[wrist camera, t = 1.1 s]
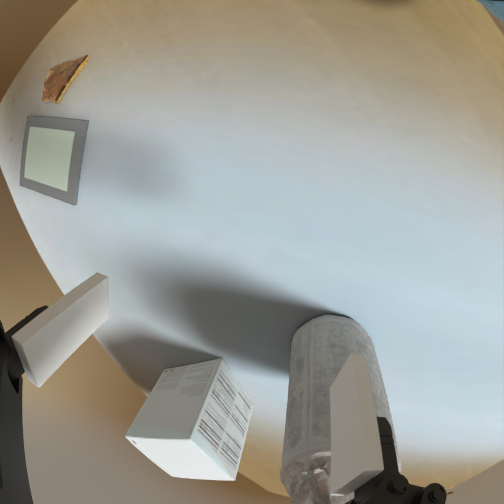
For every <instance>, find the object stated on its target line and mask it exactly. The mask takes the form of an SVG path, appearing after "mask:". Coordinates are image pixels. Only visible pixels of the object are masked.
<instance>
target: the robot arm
mask: <svg viewBox="0 0 504 504" xmlns="http://www.w3.org/2000/svg"><path fill="white" fill-rule="evenodd" d="M477 1H479V2H480V3H481V4H482V5H483V6H484V7H485V8H486V9H487V10H488V11H490V12H491V13H492V14H493V15H494V16H495V17H497V18H498V19H500V20H503V21H504V0H477ZM108 318H109V300H108V277H107V276H105V275H102V274H100V273H98V272H97V273H96V274H94V275H93V276H91V277H90V278H89V279H87V280H86V281H84V282H83V283H81V284H80V285H79V286H77V287H76V288H74V289H73V290H72V291H70V292H69V293H67V294H66V295H65V296H63V297H62V298H61V299H59V300H58V301H56V302H55V303H54V304H53V305H51V306H50V307H48V306H43V307H40V308H37V309H36V310H35V311H33V312H32V313H31V314H30V315H28V316H27V317H25V319H23V320H21V321H20V322H19V323H17V324H16V325H15V326H14V327H12V328H11V329H10V330H8V331H7V332H6V333H5V332H4V329H3V326H2V323H1V321H0V504H33V500H32V496H31V491H30V486H29V480H28V474H27V468H26V461H25V452H24V441H23V426H22V425H23V424H22V384H23V379H22V376H21V375H22V374H23V373H24V372H25V373H26V376H27V378H28V380H29V381H30V382H32V383H33V384H34V385H35V386H37V387H38V388H40V387H41V385H42V384H43V383H44V382H45V381H46V380H47V379H48V378H49V377H50V376H51V375H52V374H53V373H54V372H55V371H56V370H57V369H58V367H60V365H61V364H62V363H63V362H64V361H65V360H66V359H67V358H68V357H69V356H70V355H71V354H72V353H73V352H74V351H75V350H76V349H77V348H78V347H79V346H80V345H81V344H82V343H83V342H84V341H85V340H86V339H87V338H88V337H89V336H90V335H91V334H92V333H93V332H94V331H95V330H96V329H98V328H99V327H100V326H101V325H102V324H103V323H104V322H105V321H106V320H107V319H108ZM330 413H331V490H330V495H336V496H347V495H349V494H350V493H352V492H354V498H353V499H351V500H350V501H348V502H346V503H345V504H445V501H446V491H445V489H444V487H443V486H442V485H440V484H438V483H432V484H429V485H428V486H427V487H425V488H423V487H419V486H415V485H411V484H409V483H408V480H407V479H406V478H405V477H404V476H403V475H401V474H400V473H399V469H398V462H397V456H396V450H395V445H394V439H393V433H392V428H391V425H390V424H389V422H388V420H387V419H386V417H377V416H376V411H375V406H374V400H373V395H372V390H371V385H370V380H369V375H368V370H367V366H366V361H365V357H364V355H359V354H354V353H351V354H350V355H349V357H348V359H347V360H346V362H345V364H344V366H343V367H342V369H341V371H340V372H339V374H338V376H337V377H336V379H335V380H334V382H333V384H332V385H331V387H330Z"/></svg>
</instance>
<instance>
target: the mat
mask: <svg viewBox="0 0 504 504" xmlns="http://www.w3.org/2000/svg"><path fill="white" fill-rule="evenodd" d="M88 123H89V121H86V120H77V119H66V118H54V117H39V116H27V122H26V128H25V135H24V142H23V150H22V159H21V171H20V186H23V187H26V188H28V189H31V190H34V191H36V192H39V193H42V194H44V195H47V196H50V197H52V198H55V199H58V200H61V201H63V202H66V203H69V204H72V205H76V204H77V197H78V187H79V178H80V170H81V163H82V156H83V150H84V144H85V138H86V133H87V128H88Z"/></svg>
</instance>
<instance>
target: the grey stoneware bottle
mask: <svg viewBox="0 0 504 504" xmlns="http://www.w3.org/2000/svg"><path fill="white" fill-rule="evenodd" d="M351 353H354V354H359V355H364V357H365V361H366V366H367V370H368V375H369V380H370V385H371V390H372V395H373V400H374V406H375V411H376V416H377V417H386V419H387V420H388V422H389V424H390V425H391V428H392V433H393V439H394V445H395V450H396V456H397V462H398V469H399V472H400V470H401V462H400V459H399V454H398V449H397V443H396V437H395V432H394V427H393V422H392V417H391V413H390V408H389V404H388V399H387V395H386V391H385V387H384V383H383V379H382V375H381V371H380V367H379V364H378V360H377V357H376V353H375V348H374V345H373V343H372V340H371V338H370V336H369V335H368V334H367V332H366V331H365V330H364V329H363V328H362V327H361V326H360V325H359V324H358V323H356V322H355V321H354V320H352V319H349V318H346V317H340V316H335V315H325V316H319V317H317V318H314V319H312V320H310V321H308V322H307V323H305V324H304V325H303V326H301V327H300V328H299V329H298V330H297V331H296V333H295V334H294V336H293V339H292V342H291V361H290V375H289V387H288V402H287V411H286V425H285V435H284V445H283V455H282V467H281V470H280V479H281V482H282V484H283V485H284V486H285V488H286V490H287V492H288V494H289V495H290V497H291V499H292V501H293V502H291V504H345V503H346V502H348V501H350V500H351V499H353V498H354V492H352V493H350V494H349V495H347V496H336V495H330V490H331V413H330V387H331V385H332V384H333V382H334V380H335V379H336V377H337V376H338V374H339V372H340V371H341V369H342V367H343V366H344V364H345V362H346V360H347V359H348V357H349V355H350V354H351Z"/></svg>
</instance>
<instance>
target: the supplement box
mask: <svg viewBox="0 0 504 504" xmlns="http://www.w3.org/2000/svg"><path fill="white" fill-rule="evenodd" d="M252 409H253V403H252V401H251V400H250V399H249V397H248V396H247V394H246V393H245V391H244V390H243V388H242V387H241V385H240V384H239V383H238V381H237V380H236V378H235V377H234V375H233V374H232V372H231V371H230V369H229V368H228V366H227V365H226V363H225V362H224V360H223V359H222V358H220V359H215V360H210V361H206V362H201V363H196V364H191V365H185V366H180V367H174V368H169V369H164V371H163V372H162V374H161V376H160V377H159V379H158V381H157V382H156V384H155V386H154V387H153V389H152V391H151V393H150V394H149V396H148V398H147V399H146V401H145V403H144V404H143V406H142V407H141V409H140V411H139V412H138V414H137V416H136V418H135V419H134V421H133V423H132V424H131V426H130V428H129V430H128V431H127V433H126V435H125V437H126V438H127V439H128V440H129V441H130V442H131V443H132V444H133V445H134V446H135V447H137V448H138V449H139V450H140V451H141V452H142V453H143V454H145V455H146V456H147V457H148V458H149V459H150V460H152V461H153V462H154V463H155V464H157V465H158V466H159V467H160V468H162V469H163V470H164V471H165V472H167V473H168V474H170V475H171V476H172V477H182V478H192V479H209V480H235V478H236V474H237V470H238V466H239V462H240V458H241V454H242V450H243V446H244V442H245V438H246V434H247V430H248V426H249V422H250V418H251V413H252Z"/></svg>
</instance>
